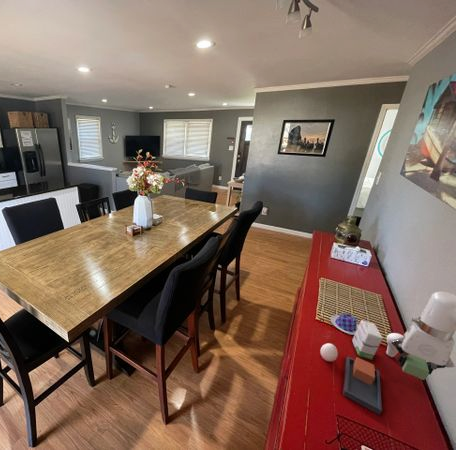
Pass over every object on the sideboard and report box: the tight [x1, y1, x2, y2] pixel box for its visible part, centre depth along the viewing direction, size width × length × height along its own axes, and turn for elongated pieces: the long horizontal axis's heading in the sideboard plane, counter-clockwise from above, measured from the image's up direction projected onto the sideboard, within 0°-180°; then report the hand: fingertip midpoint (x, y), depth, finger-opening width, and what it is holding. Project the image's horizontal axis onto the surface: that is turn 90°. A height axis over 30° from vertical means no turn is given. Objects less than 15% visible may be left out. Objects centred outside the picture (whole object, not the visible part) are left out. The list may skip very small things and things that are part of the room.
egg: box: [319, 342, 339, 362], centre depth 94 cm, size 5×5×8 cm
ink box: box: [351, 319, 384, 361], centre depth 98 cm, size 9×5×12 cm, turn 157°
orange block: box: [353, 356, 376, 385], centre depth 88 cm, size 5×6×4 cm
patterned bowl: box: [330, 312, 359, 336], centre depth 111 cm, size 12×12×5 cm
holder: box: [342, 356, 383, 415], centre depth 86 cm, size 10×18×2 cm, turn 141°
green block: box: [401, 354, 429, 381], centre depth 83 cm, size 5×6×4 cm
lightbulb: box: [385, 332, 404, 358], centre depth 95 cm, size 6×6×11 cm
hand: (412, 368), depth 83 cm, fingers closed on green block, 5 cm apart
